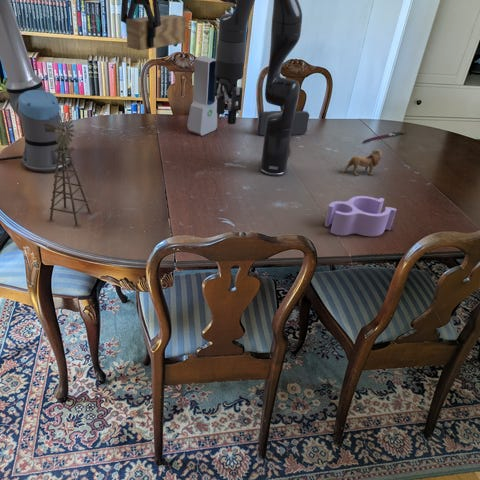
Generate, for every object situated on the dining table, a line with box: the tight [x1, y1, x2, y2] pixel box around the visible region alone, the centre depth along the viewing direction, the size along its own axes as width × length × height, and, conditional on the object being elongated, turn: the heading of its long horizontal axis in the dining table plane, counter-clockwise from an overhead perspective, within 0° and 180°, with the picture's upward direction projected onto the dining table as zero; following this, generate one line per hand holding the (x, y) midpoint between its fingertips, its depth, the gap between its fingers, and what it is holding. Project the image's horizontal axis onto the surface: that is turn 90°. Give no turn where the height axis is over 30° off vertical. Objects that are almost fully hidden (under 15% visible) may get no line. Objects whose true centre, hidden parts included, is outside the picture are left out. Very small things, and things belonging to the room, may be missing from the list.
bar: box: [125, 14, 187, 51], centre depth 175 cm, size 26×6×9 cm, turn 148°
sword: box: [363, 131, 407, 144], centre depth 214 cm, size 31×3×1 cm, turn 126°
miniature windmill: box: [44, 112, 92, 227], centre depth 124 cm, size 9×8×30 cm
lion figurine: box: [343, 149, 383, 176], centre depth 175 cm, size 15×5×9 cm, turn 110°
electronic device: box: [186, 55, 218, 137], centre depth 192 cm, size 12×8×30 cm, turn 148°
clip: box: [324, 195, 398, 237], centre depth 141 cm, size 20×12×7 cm, turn 109°
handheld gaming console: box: [257, 110, 310, 136], centre depth 203 cm, size 23×3×10 cm, turn 108°
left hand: (141, 45), depth 170 cm, fingers closed on bar, 7 cm apart
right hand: (225, 118), depth 131 cm, fingers open, 8 cm apart
